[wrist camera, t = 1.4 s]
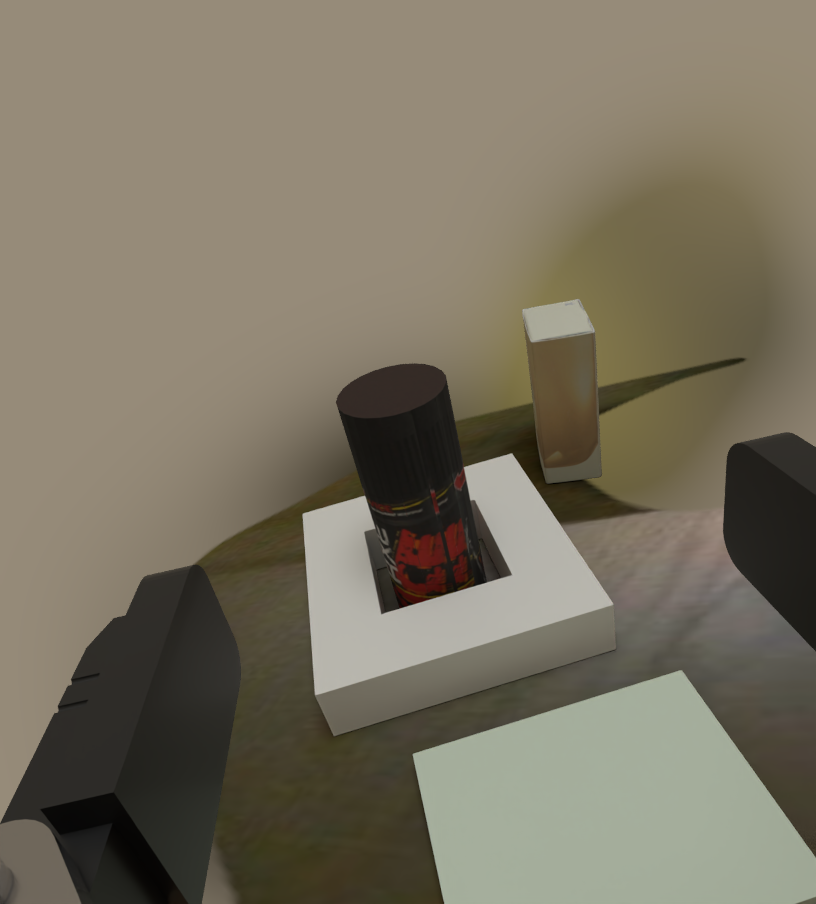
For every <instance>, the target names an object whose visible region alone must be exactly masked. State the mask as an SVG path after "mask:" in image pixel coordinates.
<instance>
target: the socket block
mask: <svg viewBox="0 0 816 904" xmlns="http://www.w3.org/2000/svg"><path fill="white" fill-rule="evenodd" d="M464 470H465V475H466V480H467V485H468V490H469V496H470V501H471V506H472V511H473V516H474V521H475V526H476V531H477V536H478V539H483V542H484V544H485V546H486V548H487V550H488V552H489V554H490V556H491V558H492V560H493V563H494V565H495V567H496V569H497V571H498V573H499V575H500V577H501V579H497V580H494V581H491V582H487V583H484V584H481V585H477V586H474V587H471V588H467V589H464V590H461V591H457V592H454V593H451V594H447V595H444V596H441V597H437V598H434V599H431V600H427V601H424V602H421V603H417V604H414V605H411V606H407V607H404V608H400V609H397V610H394V611H390V612H387V613H386V612H385V608H384V603H383V598H382V594H381V589H380V584H379V580H378V575H377V571H376V570H377V569H380V568H383V567H387V565H386V561H385V558H384V555H383V552H382V549H381V545H380V542H379V539H378V536H377V532H376V529H375V526H374V523H373V520H372V516H371V513H370V510H369V507H368V503H367V500H366V497H365V496H363V497H359V498H356V499H352V500H349V501H345V502H342V503H339V504H335V505H332V506H328V507H325V508H321V509H318V510H314V511H311V512H307V513H304V514H303V525H304V540H305V555H306V569H307V584H308V599H309V613H310V628H311V643H312V657H313V672H314V687H315V696H316V699H317V701H318V703H319V705H320V707H321V709H322V712H323V714H324V716H325V718H326V720H327V722H328V725H329V727H330V729H331V731H332V733H333V735H334V736H336V735H340V734H343V733H346V732H349V731H353V730H356V729H359V728H362V727H366V726H369V725H372V724H375V723H379V722H382V721H385V720H388V719H392V718H395V717H398V716H401V715H404V714H408V713H411V712H414V711H417V710H421V709H424V708H427V707H430V706H434V705H437V704H440V703H443V702H447V701H450V700H453V699H456V698H460V697H463V696H466V695H469V694H473V693H476V692H479V691H482V690H486V689H489V688H492V687H495V686H498V685H502V684H505V683H508V682H511V681H515V680H518V679H521V678H524V677H528V676H531V675H534V674H537V673H541V672H544V671H547V670H550V669H554V668H557V667H560V666H563V665H567V664H570V663H573V662H576V661H579V660H583V659H586V658H589V657H592V656H596V655H599V654H602V653H605V652H609V651H612V650H615V649H616V641H615V620H614V604H613V603H612V601H611V600H610V598H609V597H608V595H607V594H606V592H605V591H604V589H603V588H602V586H601V585H600V583H599V582H598V581H597V579H596V578H595V576H594V575H593V573H592V572H591V570H590V569H589V567H588V566H587V564H586V563H585V561H584V560H583V558H582V557H581V555H580V554H579V552H578V551H577V549H576V548H575V546H574V545H573V543H572V542H571V540H570V539H569V537H568V536H567V534H566V533H565V532H564V530H563V529H562V527H561V526H560V524H559V523H558V521H557V520H556V518H555V517H554V515H553V514H552V512H551V511H550V509H549V508H548V506H547V505H546V503H545V502H544V500H543V499H542V497H541V496H540V494H539V493H538V491H537V490H536V488H535V487H534V485H533V484H532V483H531V481H530V480H529V478H528V477H527V475H526V474H525V472H524V471H523V469H522V468H521V466H520V465H519V463H518V462H517V460H516V459H515V457H514V456H513V454H508V455H505V456H502V457H498V458H495V459H491V460H488V461H484V462H481V463H477V464H474V465H470V466H467V467H464Z"/></svg>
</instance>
